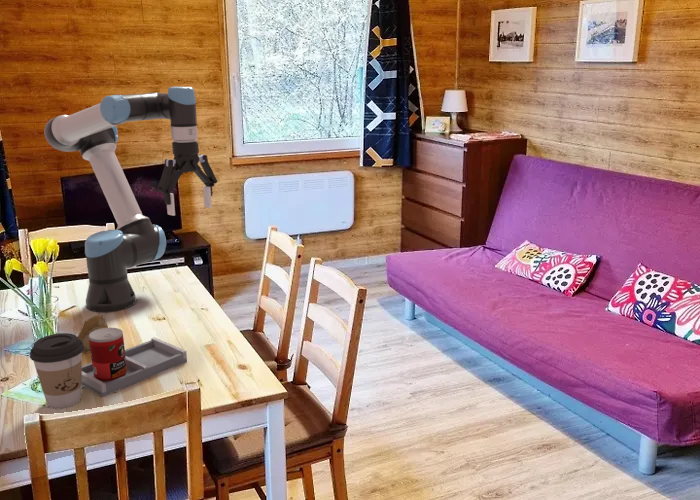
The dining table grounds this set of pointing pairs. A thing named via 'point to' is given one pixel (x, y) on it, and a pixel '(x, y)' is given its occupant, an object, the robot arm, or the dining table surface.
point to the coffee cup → (59, 368)
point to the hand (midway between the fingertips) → (190, 211)
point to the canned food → (108, 354)
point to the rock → (91, 330)
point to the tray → (137, 366)
